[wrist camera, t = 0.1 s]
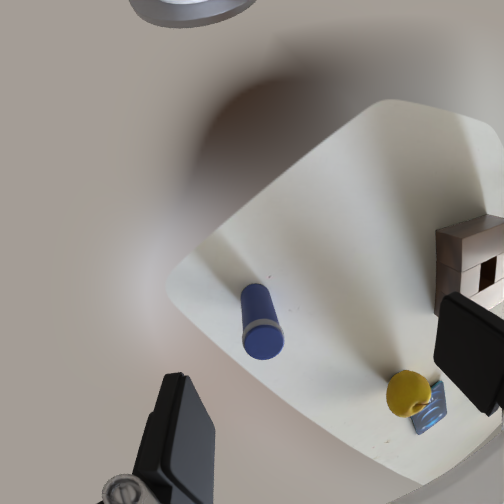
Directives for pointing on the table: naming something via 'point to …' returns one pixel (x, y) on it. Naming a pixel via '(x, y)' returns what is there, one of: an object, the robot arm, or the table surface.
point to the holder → (471, 261)
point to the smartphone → (431, 410)
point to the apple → (407, 393)
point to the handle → (260, 323)
